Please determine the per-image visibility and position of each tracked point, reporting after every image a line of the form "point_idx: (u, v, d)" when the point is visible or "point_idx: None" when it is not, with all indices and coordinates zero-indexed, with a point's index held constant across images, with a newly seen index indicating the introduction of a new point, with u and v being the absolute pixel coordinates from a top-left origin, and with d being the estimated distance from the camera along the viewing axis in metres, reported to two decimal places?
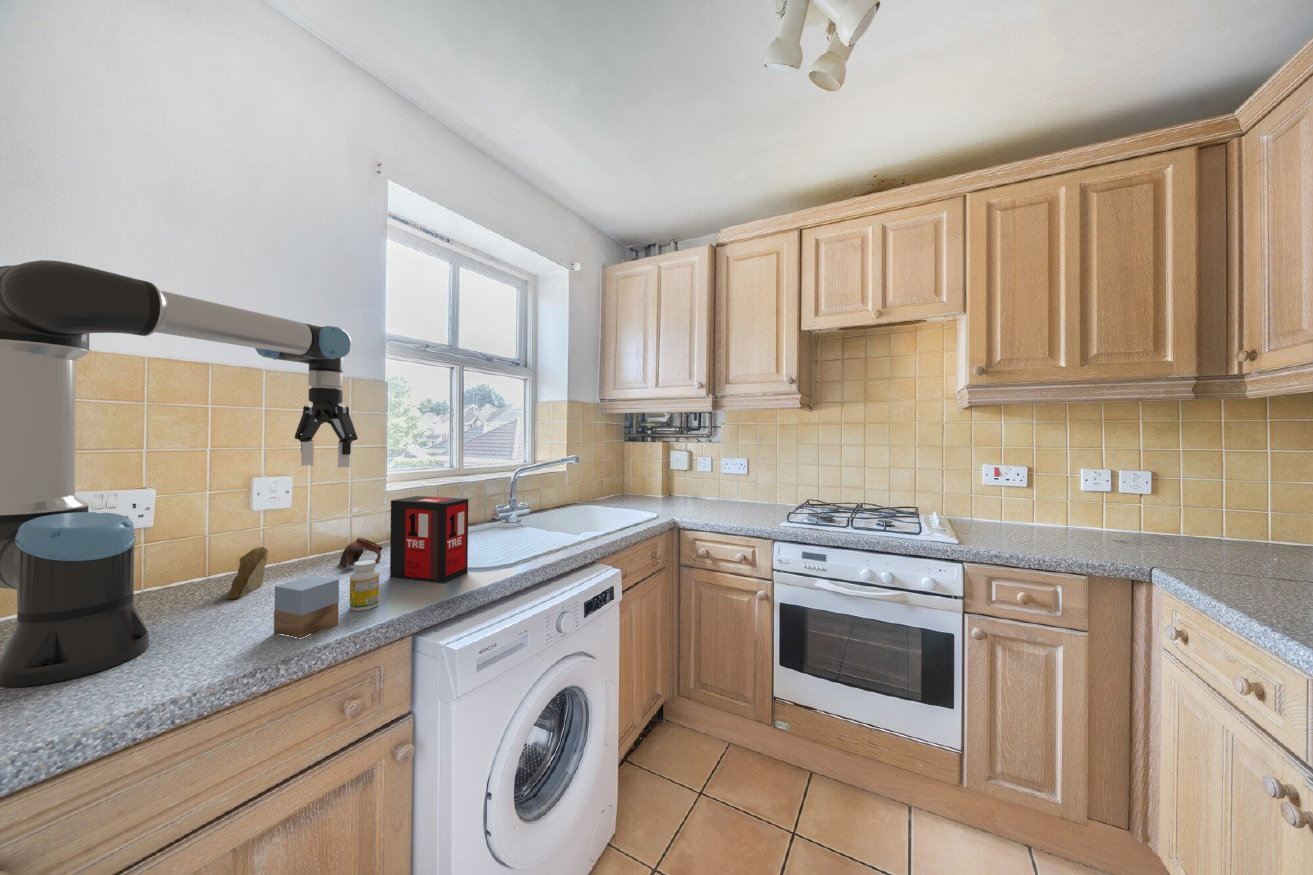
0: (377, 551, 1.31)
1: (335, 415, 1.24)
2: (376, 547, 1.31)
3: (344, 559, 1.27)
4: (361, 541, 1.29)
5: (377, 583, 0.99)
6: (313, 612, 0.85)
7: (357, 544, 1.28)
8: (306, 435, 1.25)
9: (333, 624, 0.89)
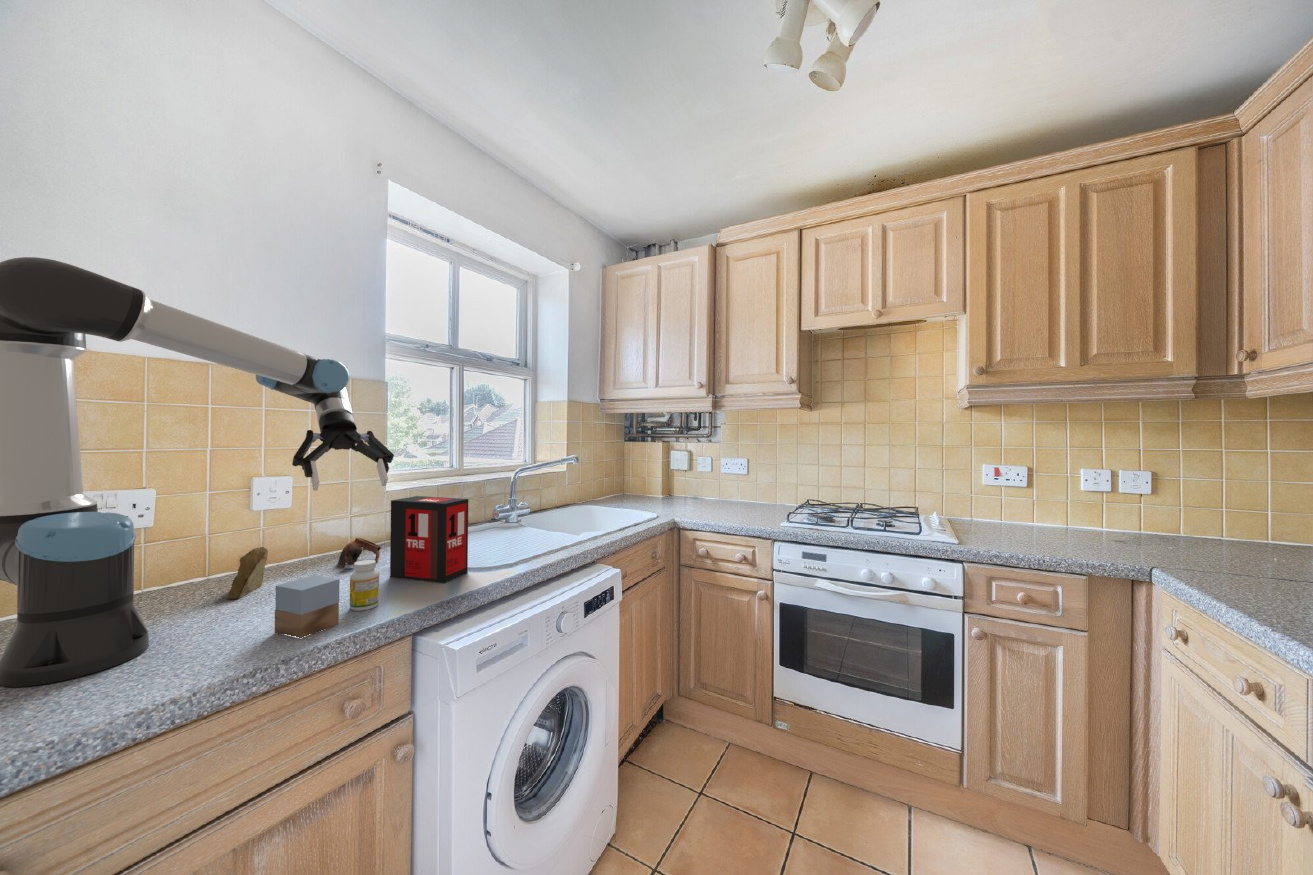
0: (375, 551, 1.31)
1: None
2: (374, 547, 1.31)
3: (342, 559, 1.27)
4: (359, 541, 1.29)
5: (377, 583, 0.99)
6: (313, 612, 0.85)
7: (355, 544, 1.28)
8: (315, 456, 1.05)
9: (333, 624, 0.89)
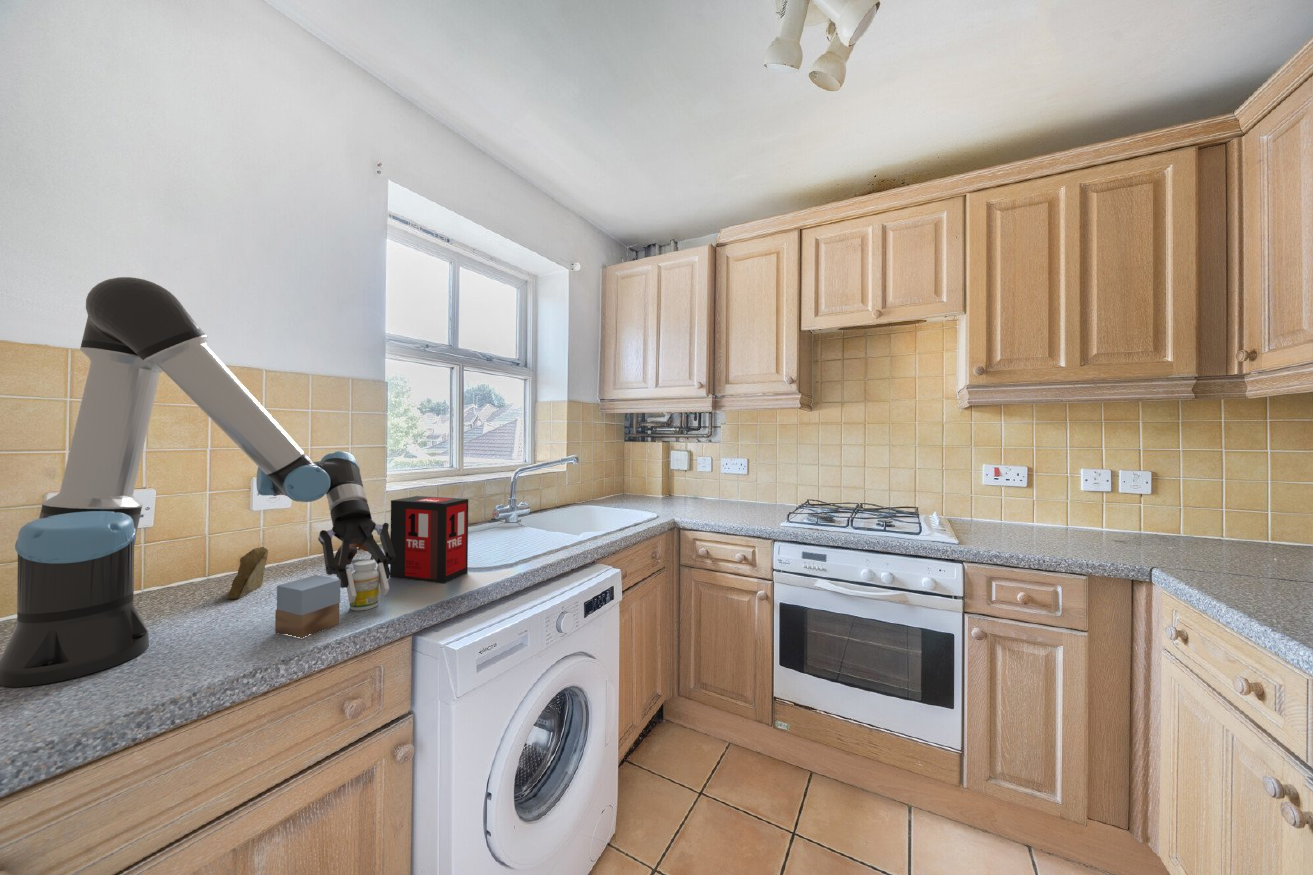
0: None
1: None
2: None
3: (338, 559, 1.27)
4: None
5: (377, 583, 0.99)
6: (314, 612, 0.85)
7: (351, 544, 1.28)
8: None
9: (334, 624, 0.89)
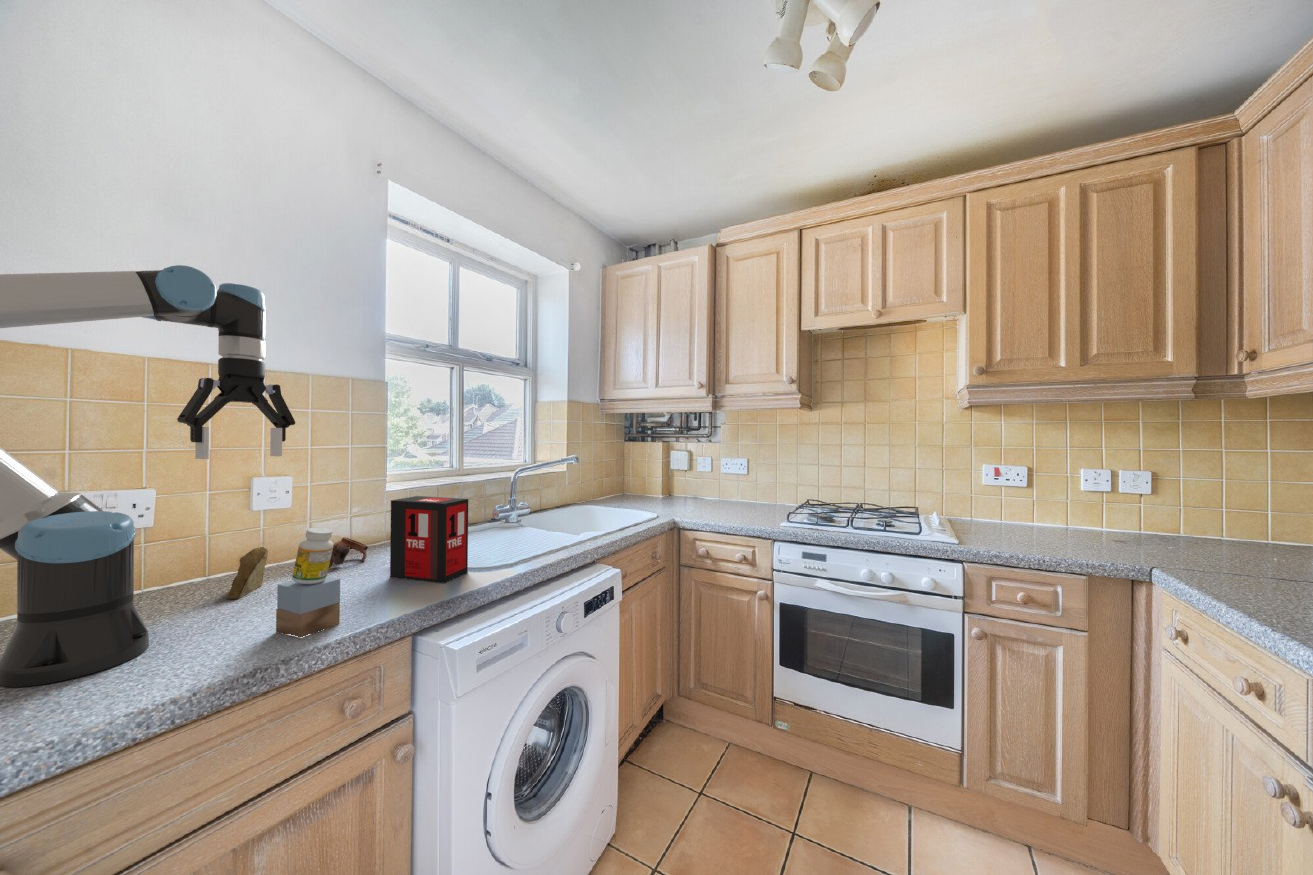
0: (363, 550, 1.31)
1: None
2: (362, 546, 1.31)
3: None
4: (347, 541, 1.29)
5: None
6: (314, 611, 0.85)
7: (343, 544, 1.29)
8: None
9: (334, 623, 0.89)
